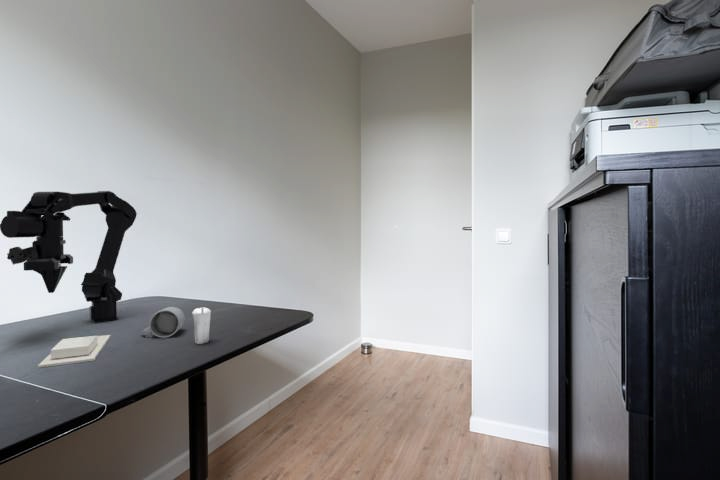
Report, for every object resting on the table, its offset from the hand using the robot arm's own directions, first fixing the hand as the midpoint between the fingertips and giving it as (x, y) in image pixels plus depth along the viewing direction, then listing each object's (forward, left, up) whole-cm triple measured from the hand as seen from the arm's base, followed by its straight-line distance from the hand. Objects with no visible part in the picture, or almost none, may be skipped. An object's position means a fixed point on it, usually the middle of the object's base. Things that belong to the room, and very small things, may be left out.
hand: (51, 292), depth 102 cm
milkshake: (-27, +36, -12) cm, 47 cm away
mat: (-3, +21, -12) cm, 24 cm away
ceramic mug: (-22, +21, -12) cm, 33 cm away
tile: (-4, +19, -10) cm, 22 cm away
